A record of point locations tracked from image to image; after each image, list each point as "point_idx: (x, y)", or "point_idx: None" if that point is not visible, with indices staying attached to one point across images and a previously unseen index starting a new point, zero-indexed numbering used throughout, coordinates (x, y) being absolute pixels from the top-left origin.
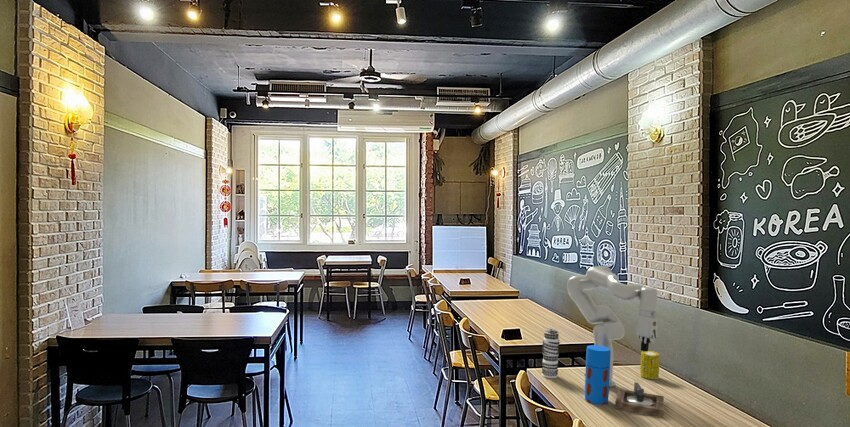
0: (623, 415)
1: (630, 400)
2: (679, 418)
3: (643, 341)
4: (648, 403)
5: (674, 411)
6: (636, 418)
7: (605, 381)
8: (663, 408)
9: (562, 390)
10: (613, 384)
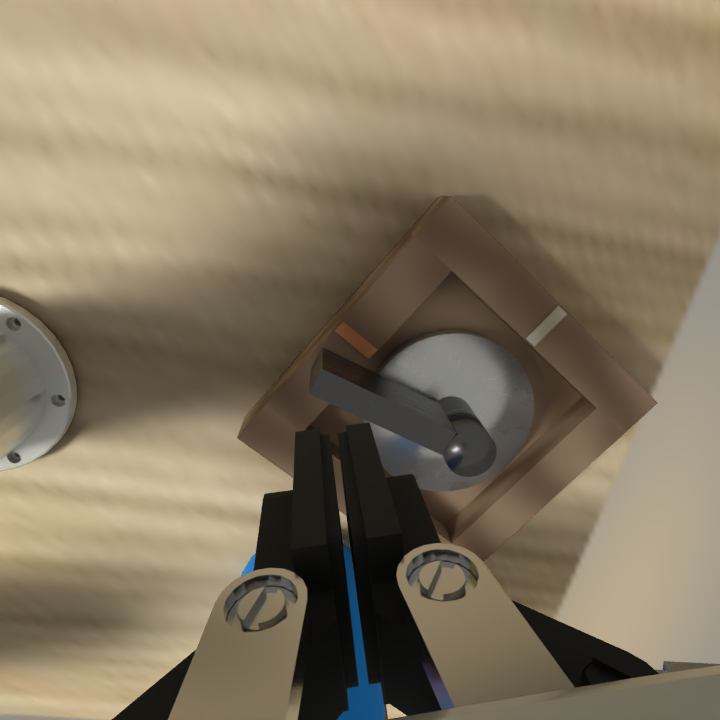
0: (525, 567)
1: (436, 478)
2: (678, 296)
3: (341, 702)
4: (515, 401)
5: (585, 238)
6: (580, 529)
7: (385, 707)
8: (635, 381)
9: (117, 676)
10: (52, 349)
